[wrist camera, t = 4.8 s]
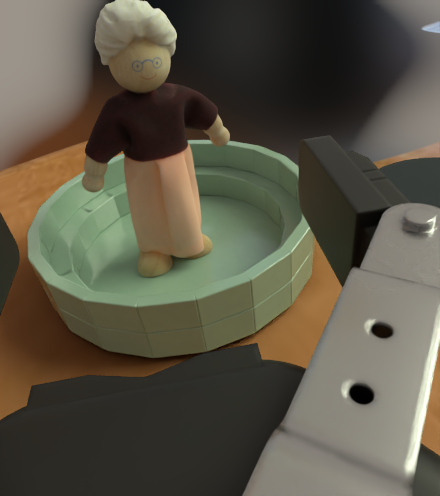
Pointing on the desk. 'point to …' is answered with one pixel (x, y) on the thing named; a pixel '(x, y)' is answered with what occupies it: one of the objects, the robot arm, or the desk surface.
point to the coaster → (416, 179)
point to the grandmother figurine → (151, 135)
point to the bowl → (183, 270)
